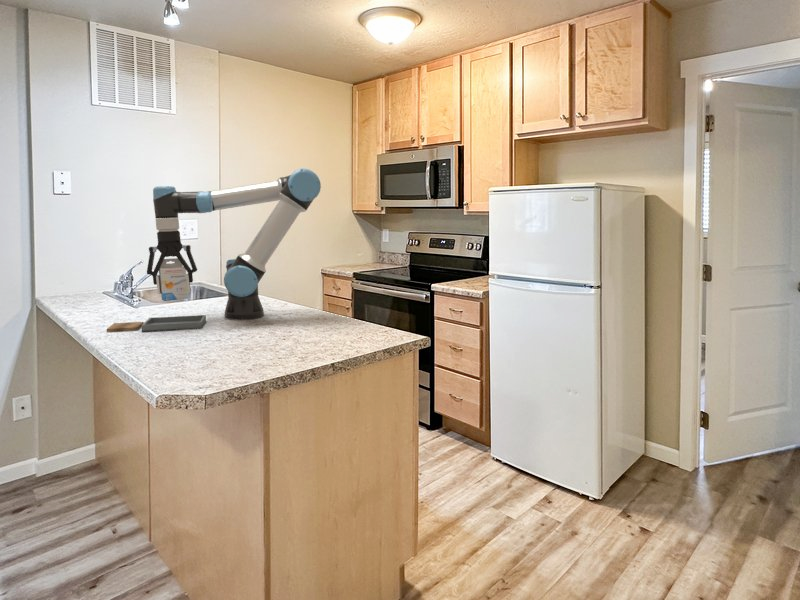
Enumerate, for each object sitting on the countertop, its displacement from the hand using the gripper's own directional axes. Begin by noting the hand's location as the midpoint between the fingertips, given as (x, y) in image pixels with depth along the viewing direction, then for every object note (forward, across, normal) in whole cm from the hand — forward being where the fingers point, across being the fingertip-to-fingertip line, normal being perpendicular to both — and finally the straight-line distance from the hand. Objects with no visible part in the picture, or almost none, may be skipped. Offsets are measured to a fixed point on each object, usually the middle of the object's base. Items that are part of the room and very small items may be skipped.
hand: (174, 292), depth 193 cm
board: (+12, +18, -2) cm, 22 cm away
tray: (+13, +1, 0) cm, 13 cm away
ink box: (+3, 0, 0) cm, 3 cm away
